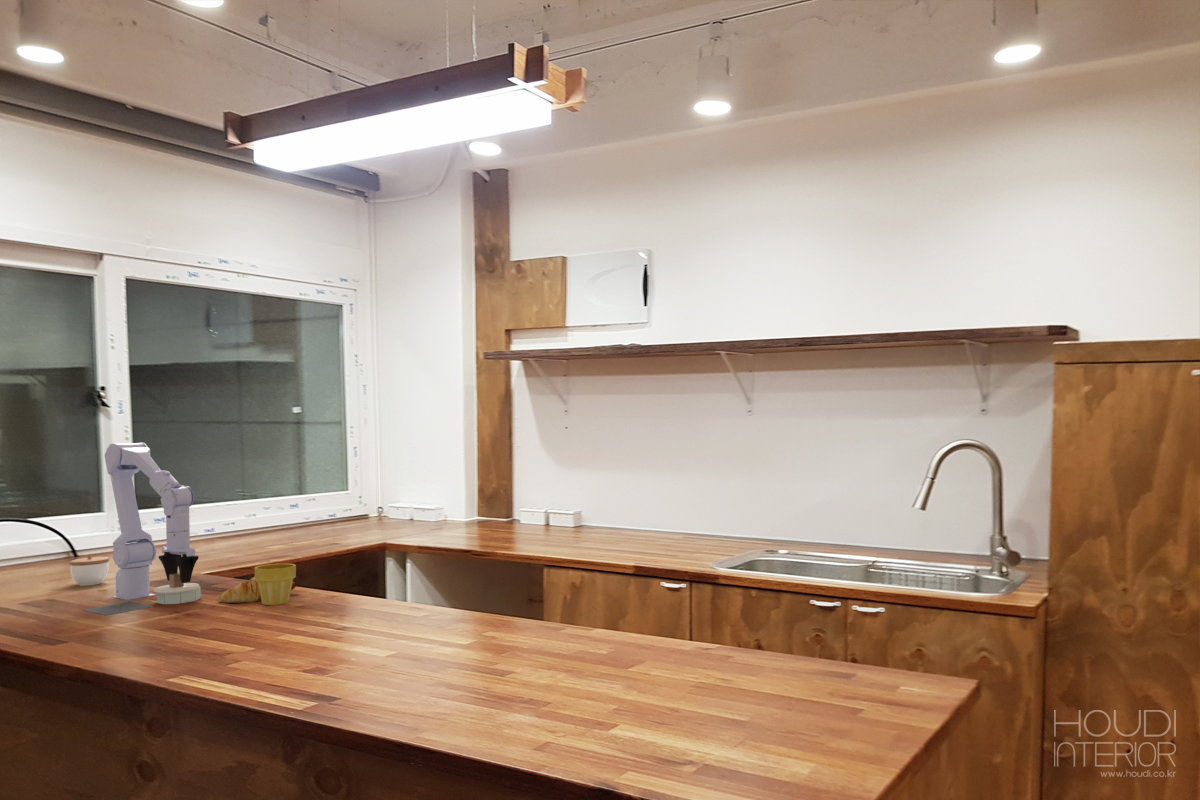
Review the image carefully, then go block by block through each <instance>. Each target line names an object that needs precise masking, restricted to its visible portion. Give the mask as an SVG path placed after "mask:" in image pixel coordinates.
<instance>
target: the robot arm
mask: <svg viewBox="0 0 1200 800" xmlns="http://www.w3.org/2000/svg"><path fill="white" fill-rule="evenodd" d="M104 460H105V465H106V470H107V471H106V472H107V474H108V475H110V481H111V487H112V491H113V498H114V502H115V503H114V504H115V507H116V513H117V518H118V525H119V529H120V535H118V537H116V539H115V540H114V541H113V542H112V547H113V548H112V549H113V550H112V551H113V552H112V560H113V562H114V564H115V565H116V566H117V568H118V569H117V572H116V574H115V595H113V596H112V598H117V599H121V600H122V599H123V600H126V601H127V600H134V599H140V598H145V597H151V596H157V593H150V592H151V589H150V588H151V587H150V581H151V580H150V566H151V565H152V564H153V561H154V560H155V558H156V557H157V546H156V545H155V543H154V541H153V539H152V535H151V534H150V533H148V532H146V531H145V530H143V528H142V523H141V519H140V512H139V507H138V503H137V497H136V492H135V488H134V487H135V486H134V481H133V476H134V475H135V474H137V473H139V472H140V471H141V472H142V473H143V474H144V475H146V476H147V477H148V478H149V485H150V487H151V488H153V490H154V491H155V492H156V493H157V494H158V495H159V496H160V497H161V498H160V504H161V506H162V509H163V513H164V516H165V519H166V521H165V522H166V523H165V524H166V526H165V527H166V528H165V529H166V532H165V533H166V535H165V536H166V539H165V540H166V545H162V546H161V553H162V554H161V555H158V559H159V561H160V563H161V564H162V566H163V569H164V572H165V576H166V579H167V582H169V574H174V573H180V579H181V583H191V579H192V576H193V571H194V568H195V565H196V564H197V562H198V560H199V555H196V548H195V547H192V546H191V545H190V544H191V542H190V541H191V540H190V539H191V538H190V537H191V536H190V535H191V534H190V529H191V528H190V526H191V525H190V524H191V523H190V507H191V506H192V505H193V504H194V501H195V494H194V492H193V489H192V488H191V487H190V486H188V485H184V484H183V485H182V484H181V483H180V482H178V480H177V479H176V478H175V477H174V476H173V475H172V474H171V472H170V471H169V470H163V469H162V470H161V468H160V467H159V466H158V464H157V463H156V462H155V461H154V459H153V458H152V456H151V448H150V447H148V445H147V444H146V443H145V442H135V443H134V442H132V443H131V442H130V443H115V442H114V443H110V444H109V445H108V446H107V448H106V450H105V452H104ZM178 571H179V572H178Z"/></svg>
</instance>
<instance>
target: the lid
mask: <svg viewBox="0 0 1200 800" xmlns="http://www.w3.org/2000/svg"><path fill="white" fill-rule="evenodd" d="M168 582H169V584H166V585H160V586H157V587H154V588H153V594H156V595H157V594H170V593H180V592H187V591H192V590H196V589H198V588H199V587H200V583H196V582H195V583H194V582H186V583H181V579H180V572H177V573H174V574H169V581H168Z"/></svg>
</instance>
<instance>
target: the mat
mask: <svg viewBox="0 0 1200 800" xmlns="http://www.w3.org/2000/svg"><path fill="white" fill-rule="evenodd" d="M154 607H155V606H154V605H149V604H145V603H144V604H143V603H139V602H134V601H123V602H119V603H118V602H117V603H114V604H113V603H112V604H108V605H107V604H106V605H101V606H96V607H90V608H84V609H82V611H84V612H89V613H93V614H97V615H101V616H111V615H117V614H122V613H128V612H133V611H138V610H143V609H149V608H154Z"/></svg>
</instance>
